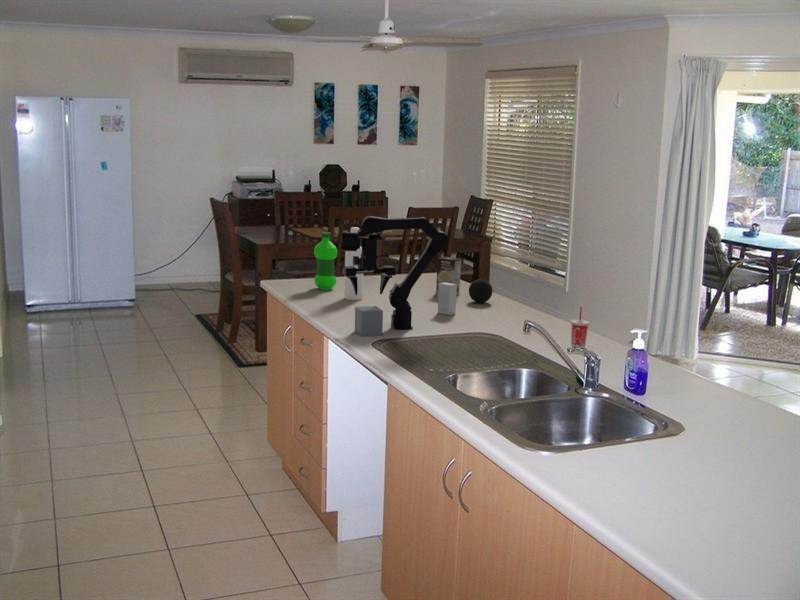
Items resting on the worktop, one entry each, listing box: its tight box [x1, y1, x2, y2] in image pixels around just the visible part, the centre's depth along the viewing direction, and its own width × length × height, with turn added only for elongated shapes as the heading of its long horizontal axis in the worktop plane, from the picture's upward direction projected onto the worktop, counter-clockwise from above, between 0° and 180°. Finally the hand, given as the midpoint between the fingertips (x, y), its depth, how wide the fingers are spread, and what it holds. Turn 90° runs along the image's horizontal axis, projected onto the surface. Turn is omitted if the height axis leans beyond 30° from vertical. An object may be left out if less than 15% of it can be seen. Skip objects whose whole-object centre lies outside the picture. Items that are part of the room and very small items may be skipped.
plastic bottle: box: [313, 231, 339, 291], centre depth 376 cm, size 10×10×25 cm
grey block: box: [354, 305, 384, 337], centre depth 300 cm, size 8×8×9 cm
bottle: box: [343, 226, 364, 301], centre depth 357 cm, size 8×8×30 cm
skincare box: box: [437, 282, 457, 316], centre depth 336 cm, size 6×4×12 cm
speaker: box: [468, 278, 493, 304], centre depth 359 cm, size 10×10×10 cm
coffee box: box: [435, 256, 462, 296], centre depth 375 cm, size 9×6×16 cm
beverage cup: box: [570, 306, 590, 350], centre depth 289 cm, size 6×6×14 cm
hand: (368, 294), depth 307 cm, fingers open, 9 cm apart
